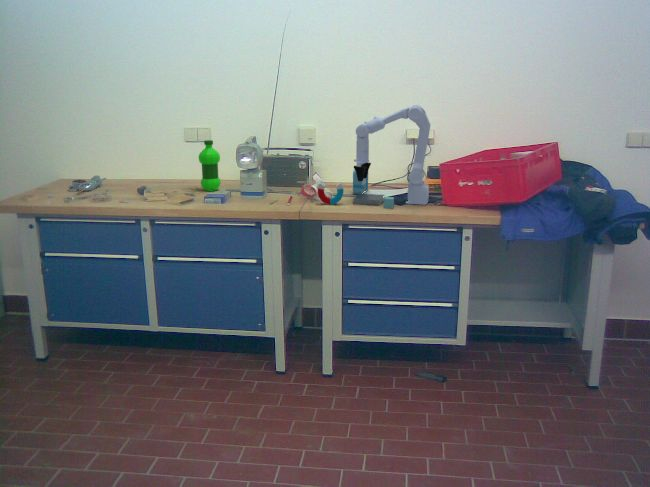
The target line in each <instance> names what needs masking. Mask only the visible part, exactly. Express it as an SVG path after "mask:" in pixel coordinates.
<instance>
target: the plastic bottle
mask: <svg viewBox="0 0 650 487" xmlns="http://www.w3.org/2000/svg"><path fill="white" fill-rule="evenodd" d="M203 142H204V144H203V145H204V146H205V148H203V149H202V151H201V152H200V153H199V155H198V162H199V163H200V164H201V172H202V174H201V175H202V177H201V180H200V185H201V188H202V189H203V190H204V191H206V192H215V190H216V191H217V190H218V189H219V188H220V186H221V182H222V181H221V178H220V177H219V163H220V161H221V154H220V153H219V151H218V150H216V149H214V147H213V145H214V141H213V140H212V139H211V140H209V139H207V140H204V141H203Z"/></svg>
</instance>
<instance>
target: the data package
mask: <svg viewBox="0 0 650 487" xmlns="http://www.w3.org/2000/svg"><path fill="white" fill-rule="evenodd" d="M366 190H367V191H368V190H369V173H368V174H367V178H363V181H358V179H357V174H356V171H355V169H354V170H353V171H352V194H353V195H358V194H362V193H363V192H364V191H366ZM367 191H366V192H367Z"/></svg>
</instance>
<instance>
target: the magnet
mask: <svg viewBox="0 0 650 487" xmlns="http://www.w3.org/2000/svg"><path fill="white" fill-rule="evenodd" d="M325 187H326V184H325V183H323V182H321V181H320V182H319V184H318V187H317V197H318V198H319V199H320V201H321V202H322V203H323V204H325V205H330V206H332V205H335V204H338V203H339V202H340V201H341V200H342V198H343V195H344V186H343V183H342V182H339V183H337V184H336V185H335V188H336V194H335V196H333V197H330V196H327V195H326V194H325Z"/></svg>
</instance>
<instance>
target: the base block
mask: <svg viewBox="0 0 650 487" xmlns="http://www.w3.org/2000/svg"><path fill="white" fill-rule="evenodd" d="M383 196H384V198H385V194H376V193H375V194H373V193H372V194H371V193H364V194H356V196H355V197H353V198H352V200H353V202H352V204H353V205H361V206H362V205H363V206H374V207H375V206H377V207H378V206H380V205H381V204H382V203H384V198H383Z"/></svg>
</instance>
